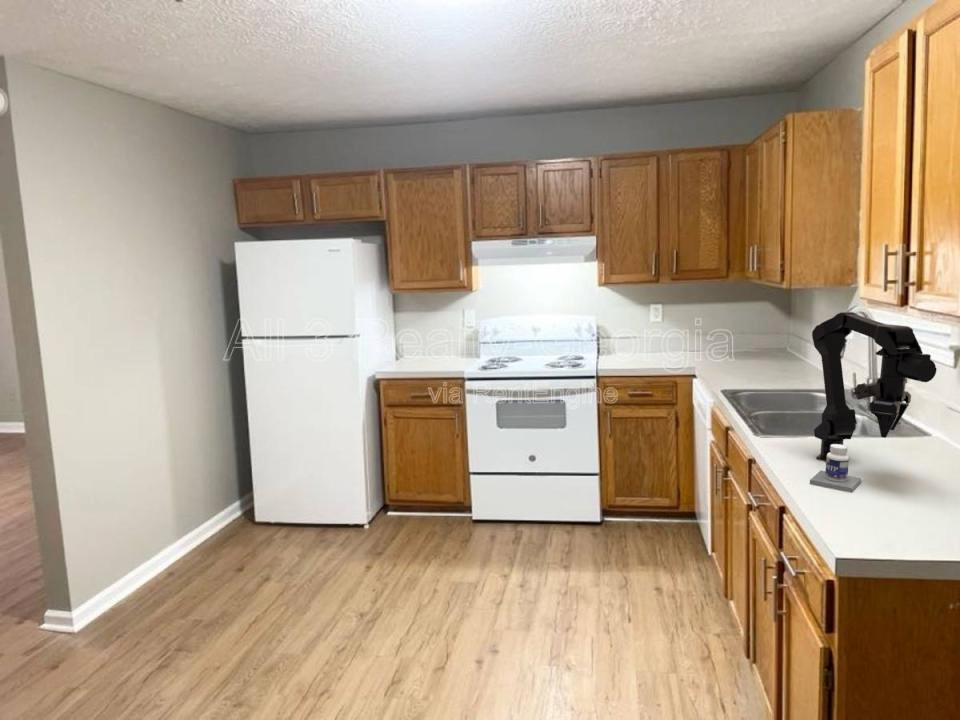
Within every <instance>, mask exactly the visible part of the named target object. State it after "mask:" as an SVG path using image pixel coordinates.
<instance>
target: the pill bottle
mask: <svg viewBox="0 0 960 720" xmlns="http://www.w3.org/2000/svg"><path fill="white" fill-rule="evenodd" d="M830 451H831V452H829V453H828V454H827V459H826V460H825V470H824V471H825V477H826V478H827V479H829V480H832V481H837V482H843V481H846V480H847V477H848V476H849V475H848V473H849V465H850V464H849V463H850V457H849V454H847V453H848V446H847V445H844V444H843V445H840V444H832V445H831V446H830Z"/></svg>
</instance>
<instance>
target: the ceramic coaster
mask: <svg viewBox="0 0 960 720" xmlns="http://www.w3.org/2000/svg"><path fill="white" fill-rule="evenodd" d="M861 483H862V478H861V477H857V476H853V475H848V477H847V480H846V481H843V482H837V481H832V480H829V479H827V478H826V477H825V470H819V471H818V472H817V473H816V474H815V475H813V476H812V477H811V478H810V479H809V485H811V486H817V487H821V488H822V487H823V488H828V489H831V490H836V491H842V492H845V493H846V492H847V493H850V494H851V493H853V492H854V491H855V490H856V489H857V487H858V486H859V485H861Z"/></svg>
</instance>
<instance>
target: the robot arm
mask: <svg viewBox="0 0 960 720" xmlns="http://www.w3.org/2000/svg"><path fill="white" fill-rule="evenodd" d="M852 332H856V333H859V334H861V335H864V336H866V337H869V338H871V339H873V341H874V343H875V344H876V345H879V346H880V347H881V349H879V350H878V351H877V350H876V352H875V354H876V355H877V356H880V357H881V366H880V375H879V376H880V377H879V378H878V379H877V380H876V382H871V383H867V384H866V383H864V382H863V383H861V384H860V383H859V384H857V385H856V386H855V387H853V390H854V392H853V394H854V395H855V396H856V397H855V398H856V399H857V400H863V399H864V398H871V397H874V399H873V400H872V401H871V402H869V404H868V405H869V406H868V411H869V412H870V414H873V416H875V417H876V418H877V423H878V428H879V433H880V437H881V438H884V439H886V438H887V436H888V435H889V433H890V431H894V430H895V429H896V427H897V426H898V424H899V422H900V421H901V419H902V417H903V415H904V414H905V412H906V410H907V409H908V407H909V406H910V403H911V400H912V395H911V393H910V392H909V391H906V384H907V383H908V380H913V381H917V382H921V383H928V382H930V381H932V380H933V379H934V378H935V376H936V374H937V366H936V364H935V362H934V361H933V360H932V359H931V356H932V355H931V354H929V353H923V351H922V347H921V345H920V343H919V342H918V340H917V337H916V334H915V333H914V329H913V328H912V327H910V326H907V325H900V324H899V325H897V324H896V325H895V324H885V323H882V322H879V321H876V320H874V319H871V318H869V317H865V316H862V315H860V314H857V313H856V312H852V311H847V312H846V311H845V312H843V311H842V312H838V313H836V314H835V315H834V316H833V317H831V318H829V319H827V320H825V321H823V322H821V323H820V324H817V325H816V326H815V327H814V328H813V330H812V333H811V337H812V342H813V346H814V348H815V350H817V352H818V353H819V354H820V357H821V364H822V373H823V375H822V376H823V383H824V391H825V401H826V402H825V403H826V405H825V408H824V410H823V412H822V414H821V422H820V423H819V424H818V425H817V427H815V428H814V429H813V433H814V437H815V438H816V439H819V440H821V441H820V454H818V455H817V456H816V457H815V459H817V460H822V461H826V459H827V454H828V453H829V452H831V451H830V446H831V445H832V444H840V445H844V440H852V436H853V434H854V432H855V431H856V427H857V424H858V422H857V419H856V410H855V409H854V408H853V409H852V408H850V407H849V406H848V404H847V401H846V392H845V391H846V390H845V384H844V374H843V365H842V356H841V353H842V351H843V350H844V347H845V346H846V337H848V336H849V335H850V334H851V333H852Z"/></svg>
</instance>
